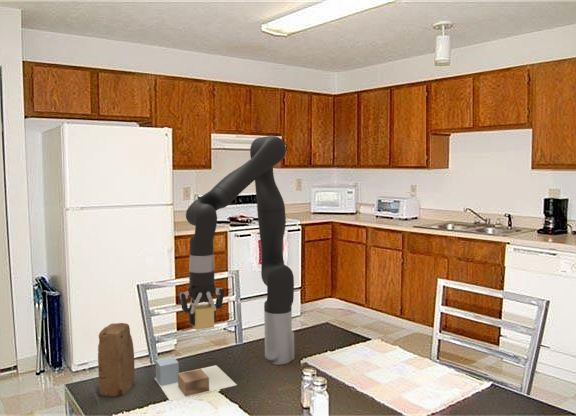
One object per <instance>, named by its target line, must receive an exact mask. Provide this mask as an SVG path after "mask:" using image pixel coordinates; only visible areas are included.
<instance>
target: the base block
mask: <svg viewBox="0 0 576 416" xmlns="http://www.w3.org/2000/svg"><path fill="white" fill-rule="evenodd" d="M192 370H193V371H192ZM192 370H188V372H187V371H183V372H184V373H182V372H179V374H178V387H179V389H180V390H181V391H182V393H183V394H184V395H185V396H189V395H194V394H198V393H202V392H206V391H209V377H208V376H207V375H206V374H205V373H204V372H203V371H202V370H201V368H198V370H196V369H192ZM206 393H207V392H206ZM202 394H203V393H202ZM198 395H199V394H198ZM194 396H195V395H194ZM189 397H190V396H189Z"/></svg>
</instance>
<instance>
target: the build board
mask: <svg viewBox="0 0 576 416" xmlns="http://www.w3.org/2000/svg"><path fill="white" fill-rule="evenodd" d="M198 369H199V368H198ZM198 369H195V370H198ZM200 369H201V370H202V371H203V372H204V373H205V374H206V375H207V376H208V377H209V391H206V392H202V393H198V394H194V395H189V396H185V395H184V394H183V393H182V391H181V390H180V389H179V387H178V382H176V383H172V384H167V385H163V386H161V385H160V384H159V383H158V381H157V380H156V377H154V380H155V381H156V383H157V384H158V386H159V387H160V388H161V390H162V391H163V393H164V394H165V396H166V397H167V399H168V400H169V402H173V401H177V400H180V399H181V400H182V399H185V398H188V397H193V396H198V395H201V394H205V393H210V392H213V391H214V392H215V391H219V390H224V389H227V388H231V387H235V386H238V384H237V383H236V382H235V381H233V379H232V378H230V376H228V375H227V374H226V373H225V372H224V371H223V370H222V369H221V368H220V367H218V365H216V364H215V365H211V366H207V367H201V368H200ZM193 370H194V369H192V370H191V371H193ZM188 371H189V370H188ZM188 371H186V372H188ZM184 372H185V371H183V372H181V373H184Z"/></svg>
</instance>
